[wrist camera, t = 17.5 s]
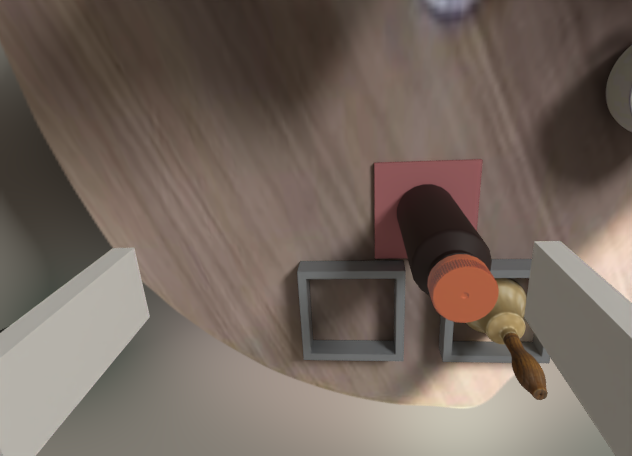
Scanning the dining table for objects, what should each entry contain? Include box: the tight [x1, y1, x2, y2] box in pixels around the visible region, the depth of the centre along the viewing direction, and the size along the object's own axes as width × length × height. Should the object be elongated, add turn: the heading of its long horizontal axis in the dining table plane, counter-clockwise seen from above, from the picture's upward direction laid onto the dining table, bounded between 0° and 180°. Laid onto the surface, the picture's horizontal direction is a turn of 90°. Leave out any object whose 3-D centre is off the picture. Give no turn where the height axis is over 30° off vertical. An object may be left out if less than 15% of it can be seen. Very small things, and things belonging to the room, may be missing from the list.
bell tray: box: [439, 259, 550, 363], centre depth 53 cm, size 13×13×3 cm
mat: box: [374, 159, 483, 259], centre depth 51 cm, size 12×12×1 cm
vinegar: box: [397, 184, 499, 323], centre depth 41 cm, size 7×7×20 cm
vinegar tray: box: [297, 260, 405, 361], centre depth 55 cm, size 13×13×3 cm
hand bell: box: [466, 278, 547, 400], centre depth 47 cm, size 8×8×16 cm
